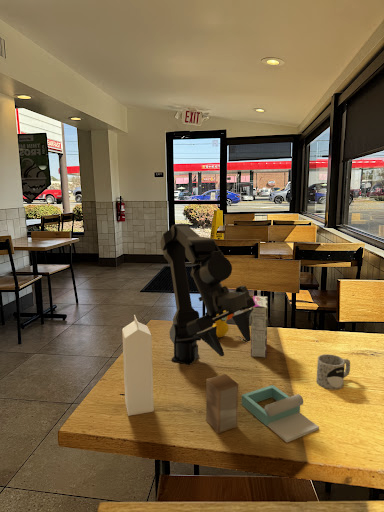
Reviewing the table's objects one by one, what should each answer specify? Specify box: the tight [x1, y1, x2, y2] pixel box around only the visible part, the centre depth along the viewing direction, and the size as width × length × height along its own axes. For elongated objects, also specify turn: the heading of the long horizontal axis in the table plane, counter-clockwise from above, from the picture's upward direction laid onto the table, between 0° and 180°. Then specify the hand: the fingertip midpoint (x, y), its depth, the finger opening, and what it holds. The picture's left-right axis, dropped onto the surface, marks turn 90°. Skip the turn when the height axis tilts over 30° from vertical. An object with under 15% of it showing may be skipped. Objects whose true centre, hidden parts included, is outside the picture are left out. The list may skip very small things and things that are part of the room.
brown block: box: [205, 373, 239, 434], centre depth 80 cm, size 5×5×10 cm
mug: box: [316, 353, 351, 391], centre depth 98 cm, size 10×7×7 cm, turn 114°
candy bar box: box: [250, 295, 269, 359], centre depth 116 cm, size 11×5×16 cm, turn 168°
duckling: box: [212, 310, 235, 338], centre depth 128 cm, size 11×5×10 cm, turn 107°
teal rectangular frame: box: [240, 384, 320, 443], centre depth 83 cm, size 16×10×5 cm, turn 28°
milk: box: [121, 314, 155, 417], centre depth 86 cm, size 6×6×22 cm
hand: (236, 348), depth 88 cm, fingers open, 9 cm apart
